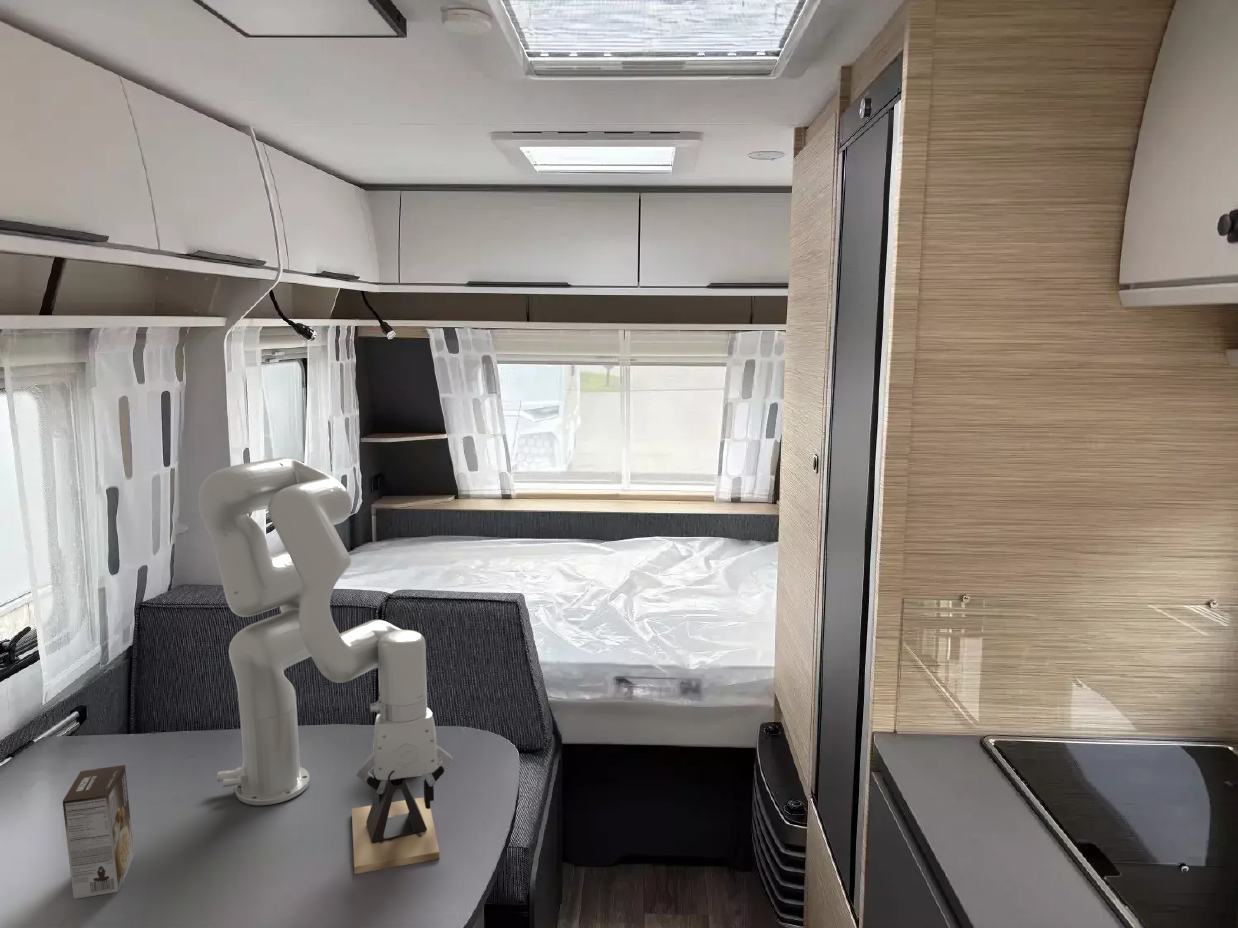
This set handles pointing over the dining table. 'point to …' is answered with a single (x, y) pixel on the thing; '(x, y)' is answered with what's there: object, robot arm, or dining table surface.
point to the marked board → (392, 841)
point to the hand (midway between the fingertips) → (406, 806)
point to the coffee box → (98, 831)
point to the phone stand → (396, 825)
